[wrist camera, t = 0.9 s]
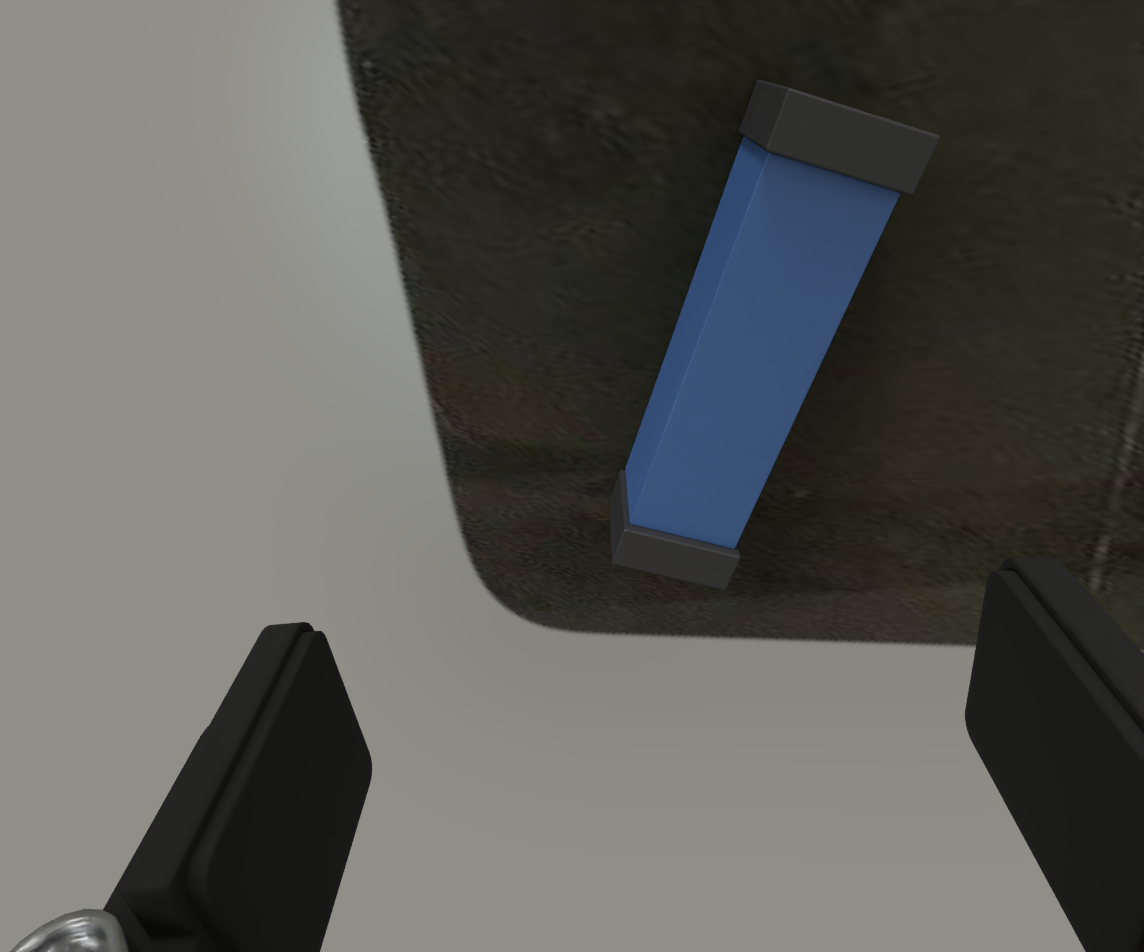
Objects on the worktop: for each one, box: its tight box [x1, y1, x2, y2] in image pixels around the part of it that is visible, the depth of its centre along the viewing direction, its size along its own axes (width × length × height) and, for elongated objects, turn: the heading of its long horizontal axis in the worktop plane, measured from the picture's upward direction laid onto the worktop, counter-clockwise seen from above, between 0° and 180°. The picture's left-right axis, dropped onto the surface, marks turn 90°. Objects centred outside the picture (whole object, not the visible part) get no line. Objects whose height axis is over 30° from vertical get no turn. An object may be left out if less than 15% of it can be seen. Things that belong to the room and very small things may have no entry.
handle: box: [609, 80, 940, 590], centre depth 26 cm, size 16×4×4 cm, turn 165°
